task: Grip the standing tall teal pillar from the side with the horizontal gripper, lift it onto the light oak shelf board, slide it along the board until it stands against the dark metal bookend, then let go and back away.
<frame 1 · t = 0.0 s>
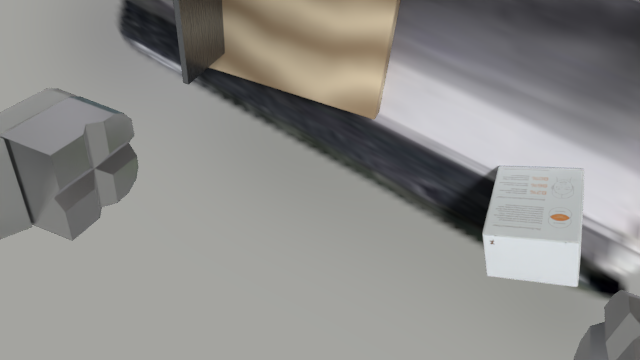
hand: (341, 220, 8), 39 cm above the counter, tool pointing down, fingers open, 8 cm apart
shelf board: (296, 22, 52), on the counter
small box: (540, 186, 53), on the counter
bookend: (227, 3, 54), resting on shelf board
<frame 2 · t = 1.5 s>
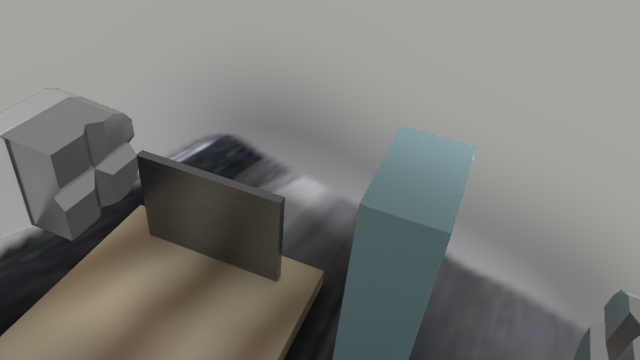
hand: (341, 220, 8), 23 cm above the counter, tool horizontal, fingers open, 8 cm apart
bookend: (214, 269, 37), resting on shelf board
tall teal pillar: (377, 345, 33), on the counter
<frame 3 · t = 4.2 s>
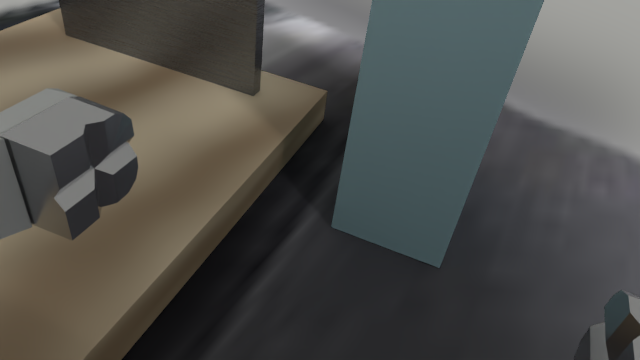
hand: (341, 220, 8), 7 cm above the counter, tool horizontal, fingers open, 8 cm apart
shelf board: (22, 183, 18), on the counter
bookend: (161, 90, 24), resting on shelf board
tall teal pillar: (409, 191, 21), on the counter
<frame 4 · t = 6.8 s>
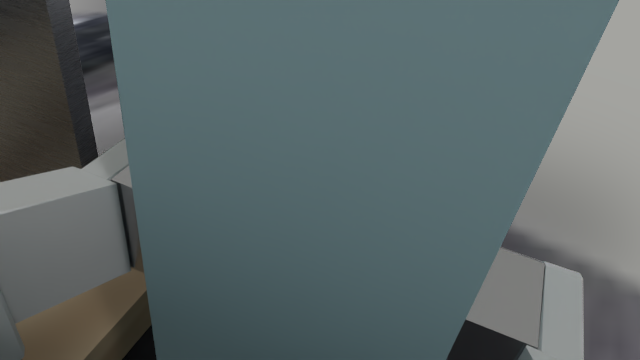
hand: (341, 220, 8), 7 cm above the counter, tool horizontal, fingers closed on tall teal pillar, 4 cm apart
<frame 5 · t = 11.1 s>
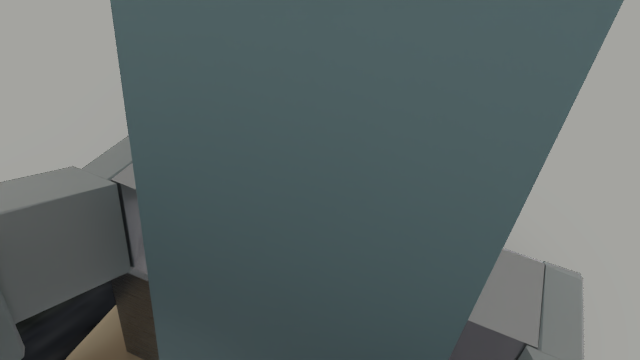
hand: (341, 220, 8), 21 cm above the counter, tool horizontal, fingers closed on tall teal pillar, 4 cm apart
when the fingers open (9 cm above the counter, at t = 15.5 s): tall teal pillar stays where it is, resting on shelf board.
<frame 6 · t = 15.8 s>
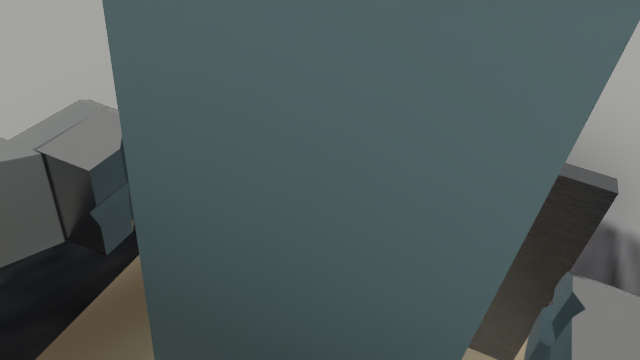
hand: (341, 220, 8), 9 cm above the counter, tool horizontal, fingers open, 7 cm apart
bookend: (355, 323, 18), resting on shelf board
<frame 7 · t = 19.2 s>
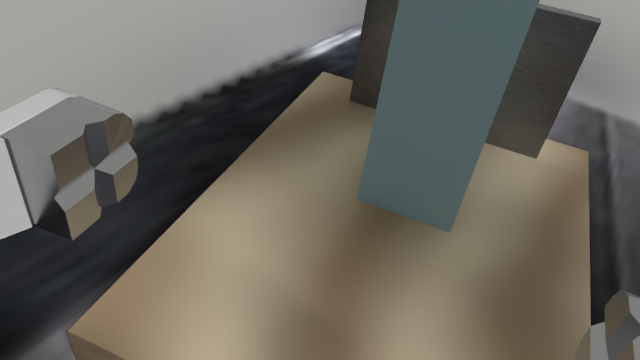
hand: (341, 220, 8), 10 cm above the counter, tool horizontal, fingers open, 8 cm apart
shelf board: (391, 242, 22), on the counter
bookend: (432, 149, 28), resting on shelf board
tall teal pillar: (422, 170, 24), point 1 cm above the counter, touching shelf board
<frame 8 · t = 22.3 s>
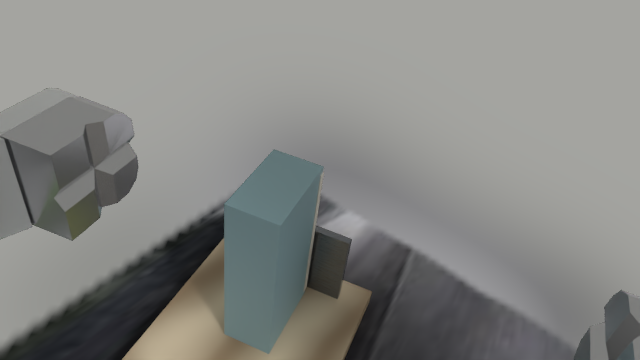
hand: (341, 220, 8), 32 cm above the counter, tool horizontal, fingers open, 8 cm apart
shelf board: (243, 355, 42), on the counter
bookend: (286, 286, 48), resting on shelf board
tall teal pillar: (266, 311, 44), point 1 cm above the counter, touching shelf board
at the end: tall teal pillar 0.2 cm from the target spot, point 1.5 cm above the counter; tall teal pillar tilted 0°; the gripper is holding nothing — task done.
